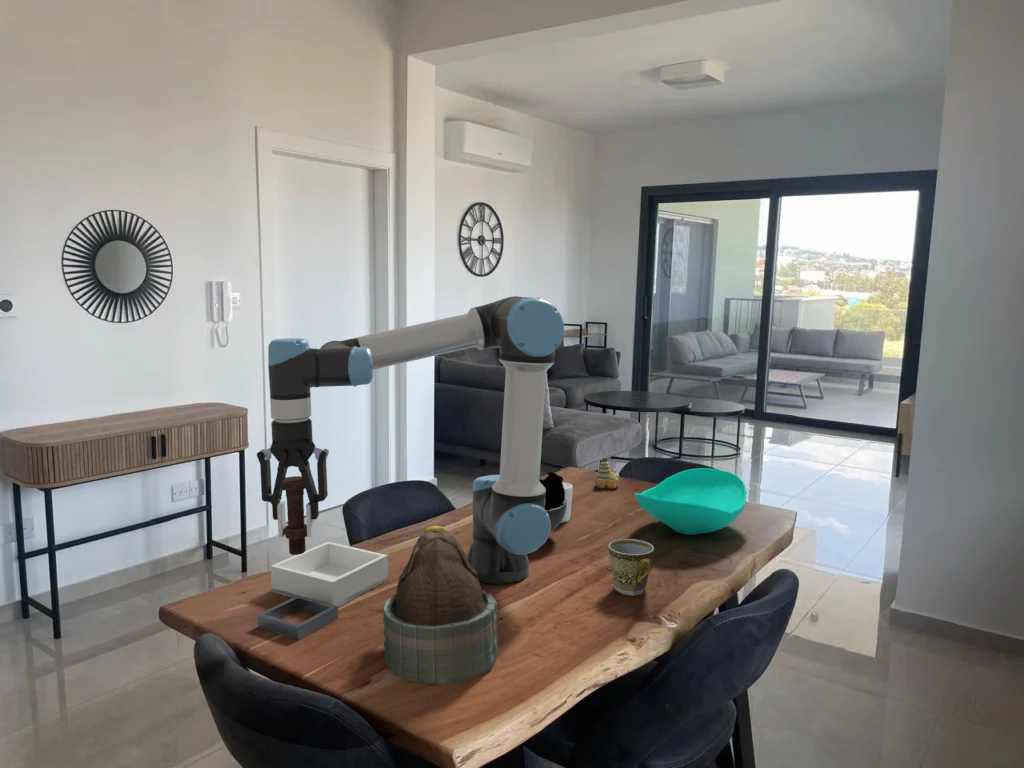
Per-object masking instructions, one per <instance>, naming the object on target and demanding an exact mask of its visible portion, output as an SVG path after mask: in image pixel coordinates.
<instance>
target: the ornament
mask: <svg viewBox="0 0 1024 768" xmlns="http://www.w3.org/2000/svg"><path fill="white" fill-rule="evenodd" d="M619 478H620V474H619V473H617V469H615V468H611V466H610V463H609V461H608V458H607V457H604V458H602V461H600V464H599V466H598V469H597V474H596V477H595V479H594V481H595V482H594V485H595V487H596V489H597V488H599V489H609V490H611V489H612V490H614V489H615V490H616V489H617V487H618V486H619V482H620V481H619V480H620V479H619Z"/></svg>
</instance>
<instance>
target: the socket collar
mask: <svg viewBox="0 0 1024 768" xmlns="http://www.w3.org/2000/svg"><path fill="white" fill-rule="evenodd" d="M296 611H303V612H307V613H311V614H313V616H311V617H310V618H308V619H306V620H304V621H301V622H300V623H299V624H297V623H295V622H292V621H291V622H290V621H288V620H285V619H282V618H285V617H286V616H288V615H290V614H293V612H296ZM256 618H257V628H260V629H264V630H266V631H270V632H272V633H276V634H278V635H282V636H283V637H287V638H291V639H294V640H297V641H300V640H301V639H303V638H305V637H307V636H309V635H311V634H312V633H314V632H315V631H316V632H317V631H318V630H319V629H321V628H323V627H325V626H326V625H328V624H330V623H332V622H333V621H336V620H337V619H339V607H338V606H335V605H331V604H328V603H324V602H321V601H317V600H314V599H310V598H306V597H303V596H299V595H297V596H295V597H293V598H291V597H290V598H289V599H287V600H285V601H283V602H281V603H279V604H277V605H275V606H273V607H271V608H269V609H267V610H265V611H263V612H261V613H258V614H257V615H256Z"/></svg>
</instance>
